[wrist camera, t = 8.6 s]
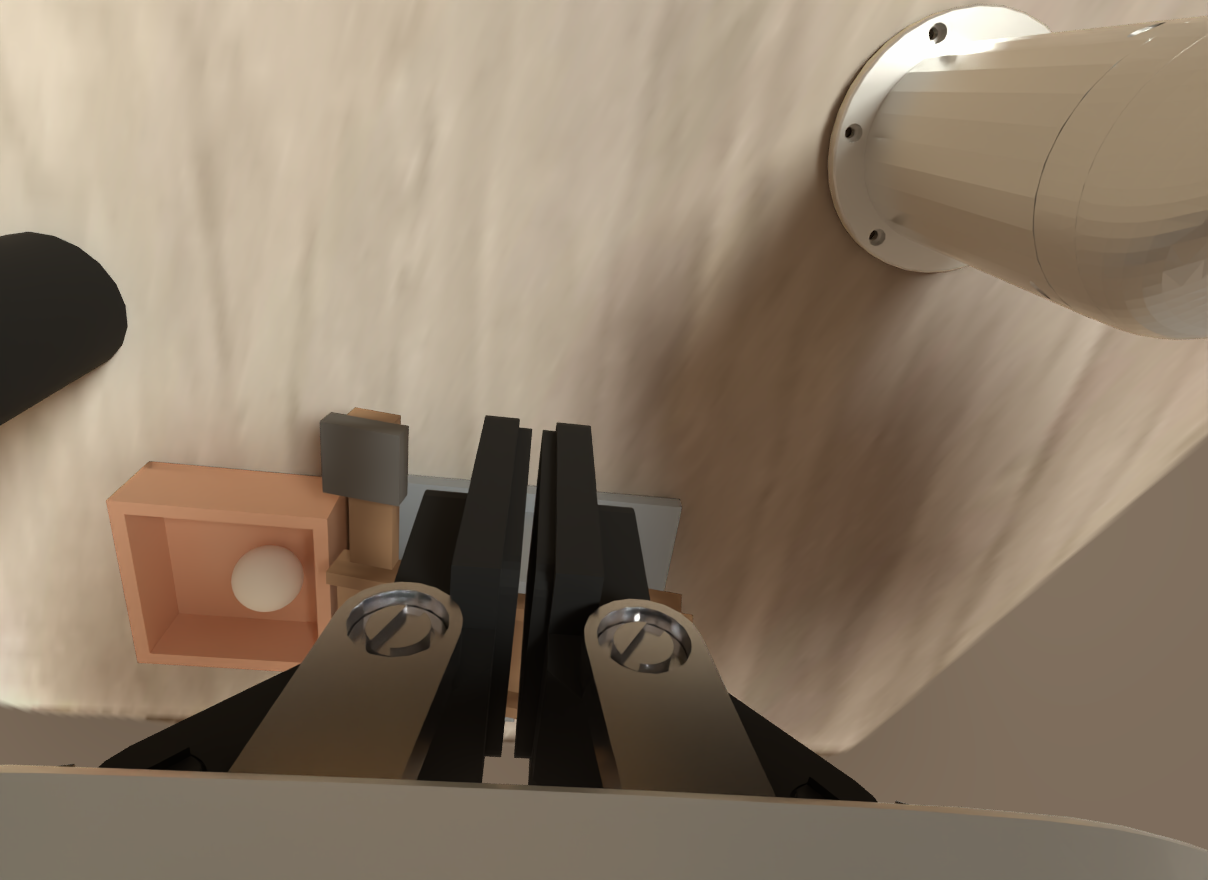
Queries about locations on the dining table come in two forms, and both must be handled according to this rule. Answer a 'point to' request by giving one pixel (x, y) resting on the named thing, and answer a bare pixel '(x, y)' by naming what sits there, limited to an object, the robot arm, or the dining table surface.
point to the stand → (651, 512)
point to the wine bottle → (52, 318)
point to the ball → (267, 578)
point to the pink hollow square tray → (222, 562)
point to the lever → (389, 511)
